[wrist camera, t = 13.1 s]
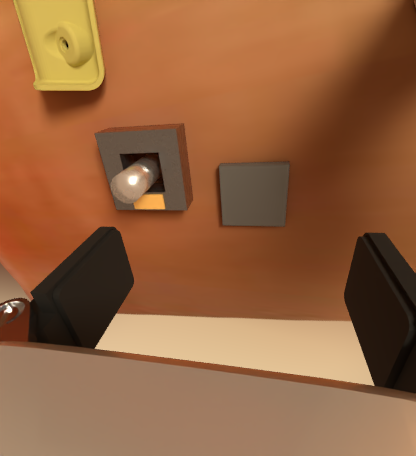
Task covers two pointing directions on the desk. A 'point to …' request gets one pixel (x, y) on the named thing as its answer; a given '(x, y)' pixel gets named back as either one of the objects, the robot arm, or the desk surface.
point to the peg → (137, 178)
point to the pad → (254, 193)
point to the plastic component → (62, 43)
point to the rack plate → (169, 159)
